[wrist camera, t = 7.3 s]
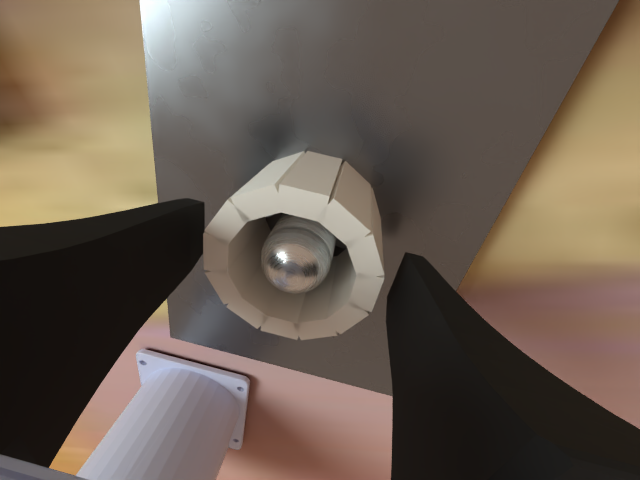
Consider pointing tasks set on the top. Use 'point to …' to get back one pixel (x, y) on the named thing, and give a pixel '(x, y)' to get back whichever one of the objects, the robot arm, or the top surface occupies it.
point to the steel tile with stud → (353, 135)
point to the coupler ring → (311, 203)
